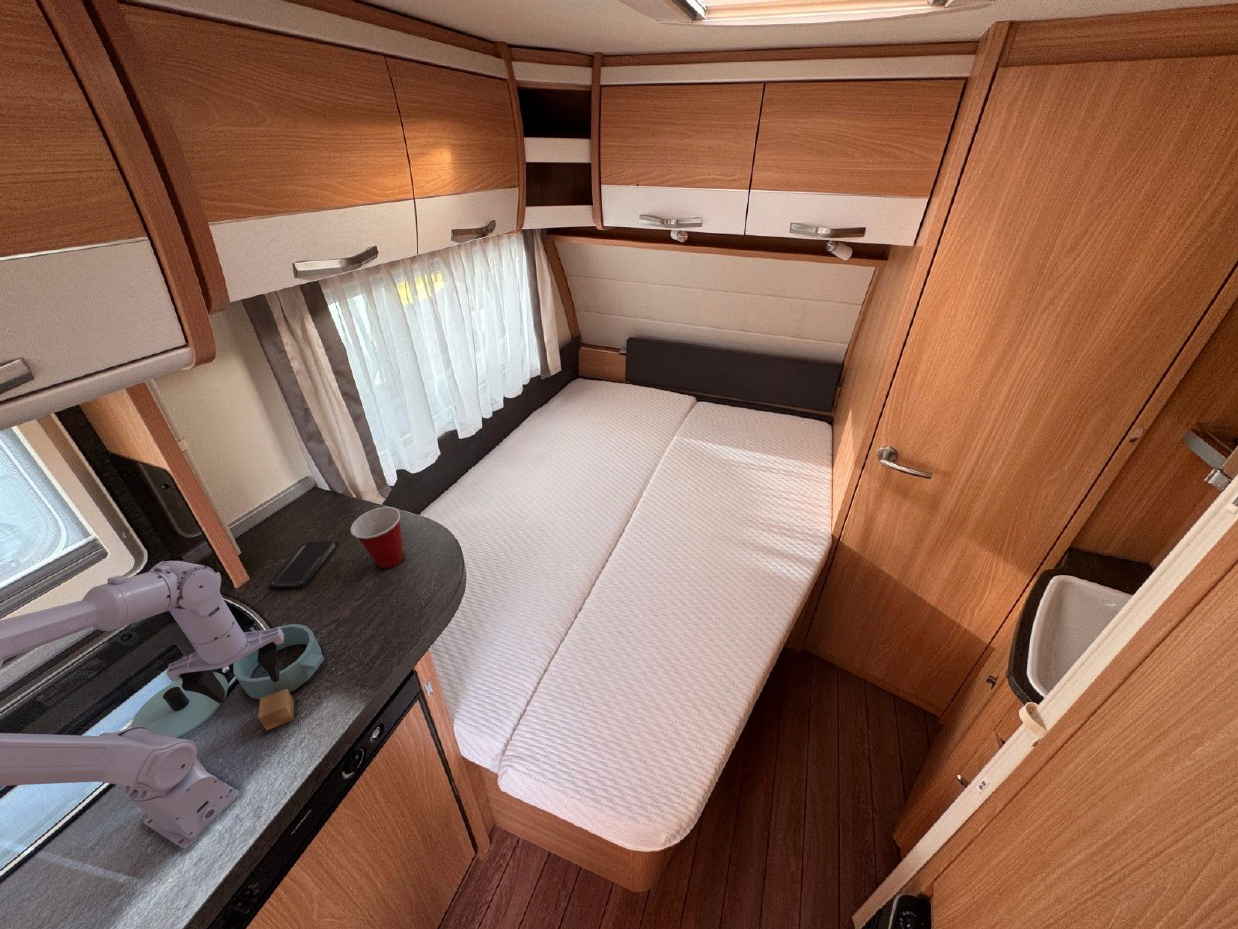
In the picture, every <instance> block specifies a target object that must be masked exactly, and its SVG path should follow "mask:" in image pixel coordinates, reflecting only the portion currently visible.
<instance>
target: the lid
mask: <svg viewBox="0 0 1238 929" xmlns="http://www.w3.org/2000/svg"><path fill="white" fill-rule="evenodd" d="M213 673H214V675H215V676H216V678H217V679H218V681H219V682H220V683H221V685H222V686H223V688H224V690H225V696H224V701H225V700H226V698H227V695H228V691H229V681H228V680H227V678H226V677H225V675H223V674H221V673H219V672H216V671H213ZM182 682H183V681H182V678H181V679H180V680H177V681H174V682H171V683H170V684H168V685H166V686H165V687H163V688H162V689H160V690H159V691H158V692H156V693H155V694H154V695H152V696H151V697H150V698H149V699H148V700H147V701H146V702H145V703H144V704H143V705H142V707H140V708H139V710H138V712H137V713H136V714H135V716H134V718H133V720H132V723H131V726H130V727H133V726H142V727H145V728H147V729H149V730H151V731H154V732H158V733H161V734H165V735H168V736H172V737H175V738H178V739H181V738H183V737H184V736H186V735H188V734H190V733H191V732H193V731H194V730H196V729H198V728H200V726H202V725H203V724H205V722H207V721H208V720H209V719H210V718H211V717H213V715H215V713H216V712H217V711H218V710H219V709H220V707H221V706H222V705H223V703H224V702H222V703H217V702H216V701H214V700H213V699H211V698H209V697H207V696H205V695H203V694H200V693H197V692H192V691H185V690H184V689H183V688H182Z"/></svg>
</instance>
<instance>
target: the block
mask: <svg viewBox="0 0 1238 929" xmlns="http://www.w3.org/2000/svg"><path fill="white" fill-rule="evenodd" d="M258 707H259V708H258V716H257V718H258V720H259V721H260V724H261V725H262V726H263V728H264V729H265V731H269V730H271V729H274V728H277V727H280V726H282V725H284V724H287V723H289V722H291V721H294V719H295V718H294V715H295V700H294V698H293V695H291V692H289V691H288V689H285V690H282V691H279V692H277V693H274V694H271V695H269V696H266V697H263V698H261V699H259V706H258ZM294 722H295V721H294Z"/></svg>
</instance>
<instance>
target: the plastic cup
mask: <svg viewBox="0 0 1238 929" xmlns="http://www.w3.org/2000/svg"><path fill="white" fill-rule="evenodd" d="M350 533H351V535H352V536H353V537H355V538H356V539H358V540H359V541H360V543H361V544H362V546H364V548H365V550H366V551H367V552H368V554H369V555H370V557H371V558H372V559H373V561H374V563H375V564H376V565H377V566H378V567H379V568H381V569H390V568H393V567H395V566H397V565H399V564H400V563H401V562H402V561H403V558H404V552H403V550H404V549H403V541H402V531H401V513H400V510H399V509H397V508H395V507H393V506H382V507H377V508H374V509H371V510H368V511H366V512H364V513H363V514H361V515H360V516H358V517H357V518H356V519H355V520H354V521H353V522H352V524H351V526H350Z"/></svg>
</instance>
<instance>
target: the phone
mask: <svg viewBox="0 0 1238 929" xmlns="http://www.w3.org/2000/svg"><path fill="white" fill-rule="evenodd" d="M335 548H336V544H335V542H334V541H333V540H315V541H314V540H313V541H311V540H309V541H305V542H304V543H302V544H301V546H299V548H298V549H297V550H296V551H295V553H294V554H292V556H291V557H290V559H288V561H287V562H286V563H285V565H284V566H283V567H282V568H281V569H280V571H279V572H278V573H277V574H276V575H275V576H274V578H273V579H272V580H271V583H270V584H271V585H272V587H273V588H274V589H281V588H282V589H283V588H286V589H287V588H288V589H289V588H303V587H305V586H306V585H308V584H309V582H310V581H311V579H312V578H313V577H314V575H315V574H316V573H317V571H318V570H319V569H320V567H321V566H322V565H323V564H324V562H325V561H326V560H327V558H328V557H329V556H330V554H331V553H332V552H333V550H334V549H335Z"/></svg>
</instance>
